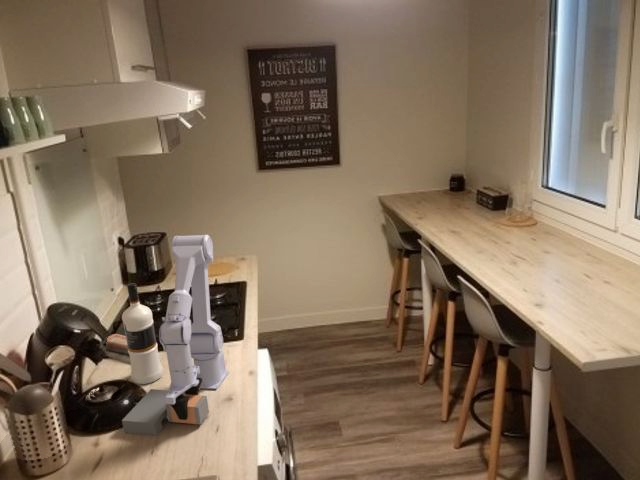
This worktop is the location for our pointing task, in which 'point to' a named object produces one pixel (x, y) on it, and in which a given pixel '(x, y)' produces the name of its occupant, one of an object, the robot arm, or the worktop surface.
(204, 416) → the block
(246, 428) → the worktop surface
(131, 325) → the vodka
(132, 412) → the stand
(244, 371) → the worktop surface
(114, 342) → the packaged product
